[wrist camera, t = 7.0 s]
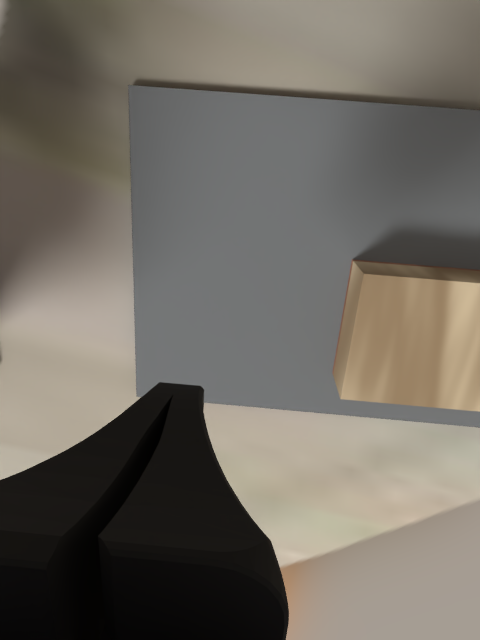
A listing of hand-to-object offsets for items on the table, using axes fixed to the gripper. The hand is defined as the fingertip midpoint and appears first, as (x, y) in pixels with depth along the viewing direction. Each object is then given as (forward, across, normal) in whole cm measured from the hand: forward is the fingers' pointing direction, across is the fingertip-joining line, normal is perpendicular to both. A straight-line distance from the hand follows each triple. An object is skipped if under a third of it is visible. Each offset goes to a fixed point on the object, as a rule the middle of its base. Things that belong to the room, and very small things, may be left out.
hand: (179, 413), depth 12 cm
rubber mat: (+9, -6, -2) cm, 11 cm away
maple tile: (+8, -6, 0) cm, 10 cm away
